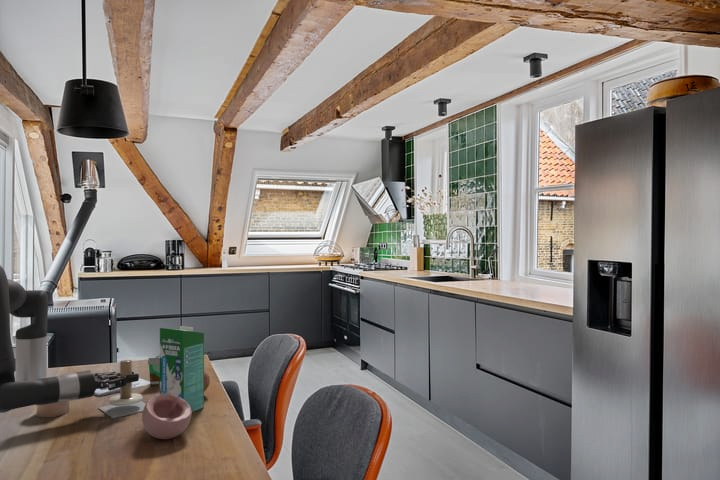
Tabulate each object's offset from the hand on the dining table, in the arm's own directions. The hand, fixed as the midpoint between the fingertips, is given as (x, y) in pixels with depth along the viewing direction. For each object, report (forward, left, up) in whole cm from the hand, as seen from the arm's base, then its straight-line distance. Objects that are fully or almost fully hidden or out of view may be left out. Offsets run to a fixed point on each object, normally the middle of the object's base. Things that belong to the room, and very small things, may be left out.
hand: (135, 376), depth 165 cm
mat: (0, -3, -9) cm, 10 cm away
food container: (-20, +18, -10) cm, 29 cm away
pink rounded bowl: (+31, -4, -10) cm, 33 cm away
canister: (-11, -20, -9) cm, 25 cm away
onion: (+2, +18, -10) cm, 21 cm away
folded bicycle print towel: (-29, +4, -10) cm, 31 cm away
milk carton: (+12, +9, -10) cm, 18 cm away
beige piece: (0, -3, -7) cm, 8 cm away
